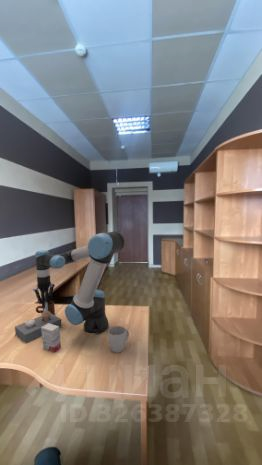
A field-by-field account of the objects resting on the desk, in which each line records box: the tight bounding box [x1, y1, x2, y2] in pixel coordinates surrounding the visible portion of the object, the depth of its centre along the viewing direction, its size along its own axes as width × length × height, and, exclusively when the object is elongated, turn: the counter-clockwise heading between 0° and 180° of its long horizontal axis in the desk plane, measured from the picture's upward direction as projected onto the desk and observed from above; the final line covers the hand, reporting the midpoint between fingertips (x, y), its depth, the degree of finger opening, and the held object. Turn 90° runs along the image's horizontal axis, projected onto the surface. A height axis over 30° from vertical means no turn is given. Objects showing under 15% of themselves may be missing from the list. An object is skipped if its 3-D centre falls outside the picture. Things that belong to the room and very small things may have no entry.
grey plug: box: [24, 318, 35, 329], centre depth 126 cm, size 5×5×8 cm
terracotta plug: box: [41, 311, 51, 322], centre depth 134 cm, size 5×5×8 cm
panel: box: [14, 313, 63, 344], centre depth 130 cm, size 14×22×5 cm, turn 139°
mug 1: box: [35, 300, 56, 316], centre depth 147 cm, size 12×8×9 cm, turn 124°
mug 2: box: [107, 325, 130, 353], centre depth 112 cm, size 13×9×10 cm
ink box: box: [41, 323, 62, 353], centre depth 113 cm, size 9×5×12 cm, turn 62°
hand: (45, 312), depth 133 cm, fingers closed
